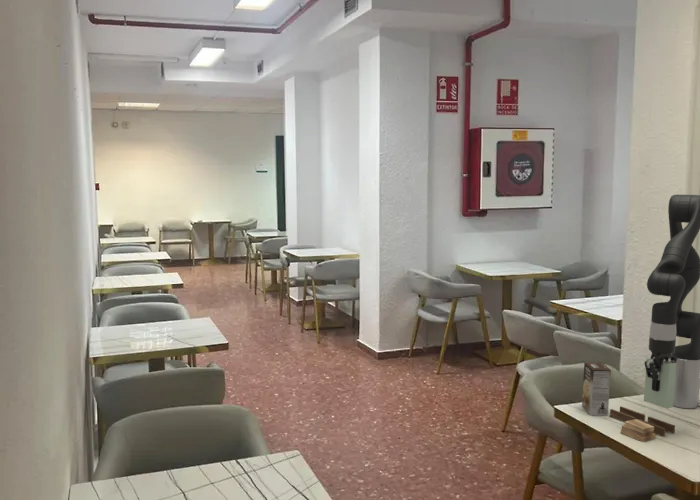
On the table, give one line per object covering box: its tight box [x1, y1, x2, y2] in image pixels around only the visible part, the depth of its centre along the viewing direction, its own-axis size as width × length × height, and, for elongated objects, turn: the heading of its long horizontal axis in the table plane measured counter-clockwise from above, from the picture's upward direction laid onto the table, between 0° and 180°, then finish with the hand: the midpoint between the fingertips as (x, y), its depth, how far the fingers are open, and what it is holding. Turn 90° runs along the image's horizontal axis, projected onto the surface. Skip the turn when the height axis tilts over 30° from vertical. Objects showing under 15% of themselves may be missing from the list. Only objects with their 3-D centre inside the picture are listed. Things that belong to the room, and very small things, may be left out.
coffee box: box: [581, 361, 612, 417], centre depth 227 cm, size 9×6×16 cm
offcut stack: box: [620, 419, 657, 443], centre depth 206 cm, size 6×8×4 cm
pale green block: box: [643, 356, 676, 410], centre depth 210 cm, size 3×8×14 cm, turn 31°
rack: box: [609, 406, 676, 438], centre depth 216 cm, size 6×20×2 cm, turn 31°
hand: (659, 389), depth 210 cm, fingers closed on pale green block, 3 cm apart
